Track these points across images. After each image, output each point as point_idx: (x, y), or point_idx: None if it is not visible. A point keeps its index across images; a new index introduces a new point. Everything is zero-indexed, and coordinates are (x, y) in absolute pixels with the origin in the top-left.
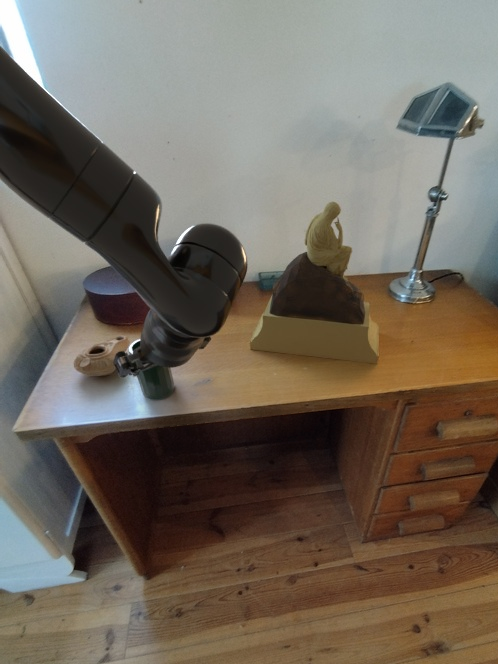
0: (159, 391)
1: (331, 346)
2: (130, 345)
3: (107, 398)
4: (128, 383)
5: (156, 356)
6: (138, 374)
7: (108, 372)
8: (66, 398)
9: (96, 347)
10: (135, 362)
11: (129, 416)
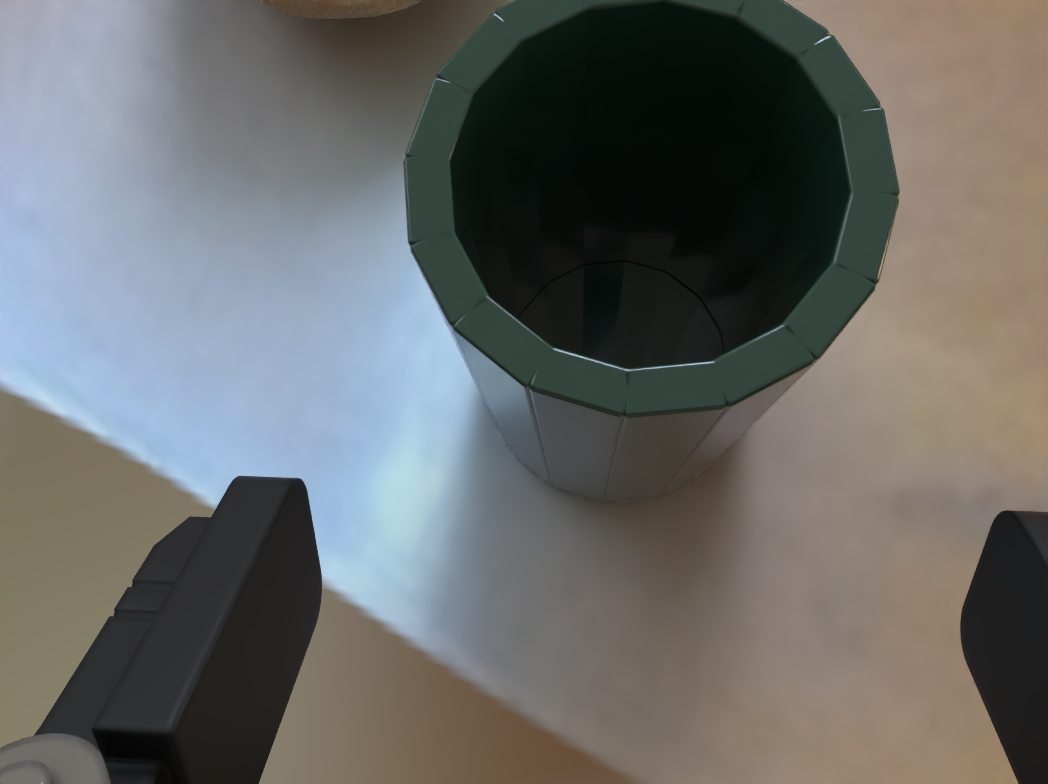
0: (580, 487)
1: None
2: (479, 35)
3: (263, 234)
4: None
5: None
6: (295, 676)
7: (347, 16)
8: (56, 71)
9: None
10: (187, 779)
11: None
